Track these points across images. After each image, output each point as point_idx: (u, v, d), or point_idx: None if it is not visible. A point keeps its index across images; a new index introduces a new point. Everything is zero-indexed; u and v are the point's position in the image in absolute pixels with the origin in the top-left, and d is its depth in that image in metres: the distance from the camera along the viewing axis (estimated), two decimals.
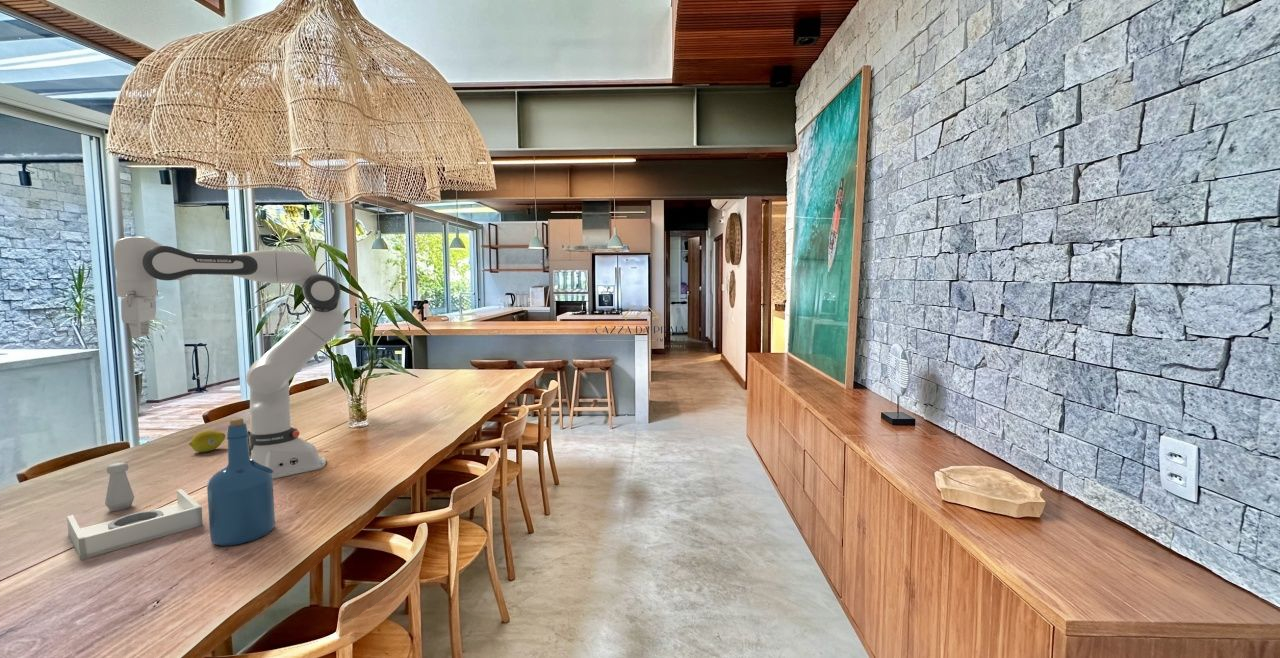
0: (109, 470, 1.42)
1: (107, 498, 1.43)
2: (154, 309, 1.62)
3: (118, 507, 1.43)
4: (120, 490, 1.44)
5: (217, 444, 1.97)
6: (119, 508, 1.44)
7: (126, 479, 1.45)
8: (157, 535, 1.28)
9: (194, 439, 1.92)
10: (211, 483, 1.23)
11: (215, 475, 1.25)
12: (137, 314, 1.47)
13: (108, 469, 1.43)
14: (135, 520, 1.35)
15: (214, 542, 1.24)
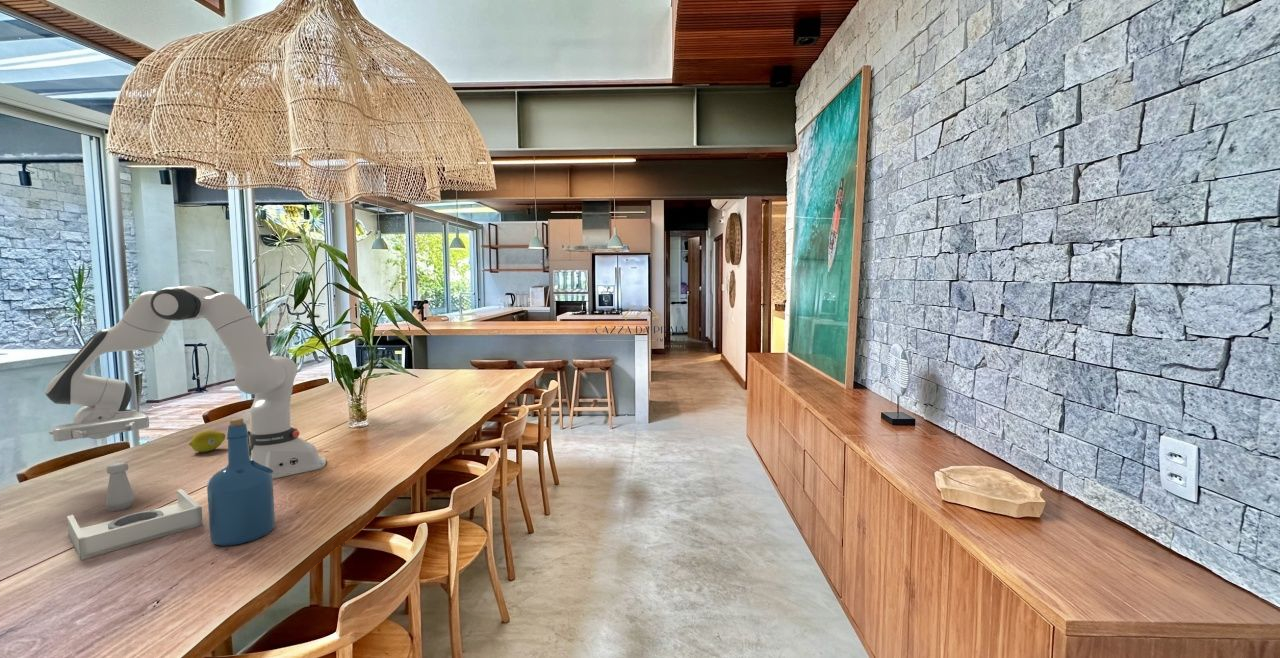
0: (109, 470, 1.42)
1: (107, 498, 1.43)
2: (140, 415, 1.62)
3: (118, 507, 1.43)
4: (120, 490, 1.44)
5: (217, 444, 1.97)
6: (119, 508, 1.44)
7: (126, 479, 1.45)
8: (157, 535, 1.28)
9: (194, 439, 1.92)
10: (211, 483, 1.23)
11: (215, 475, 1.25)
12: (53, 429, 1.47)
13: (108, 469, 1.43)
14: (135, 520, 1.35)
15: (214, 542, 1.24)
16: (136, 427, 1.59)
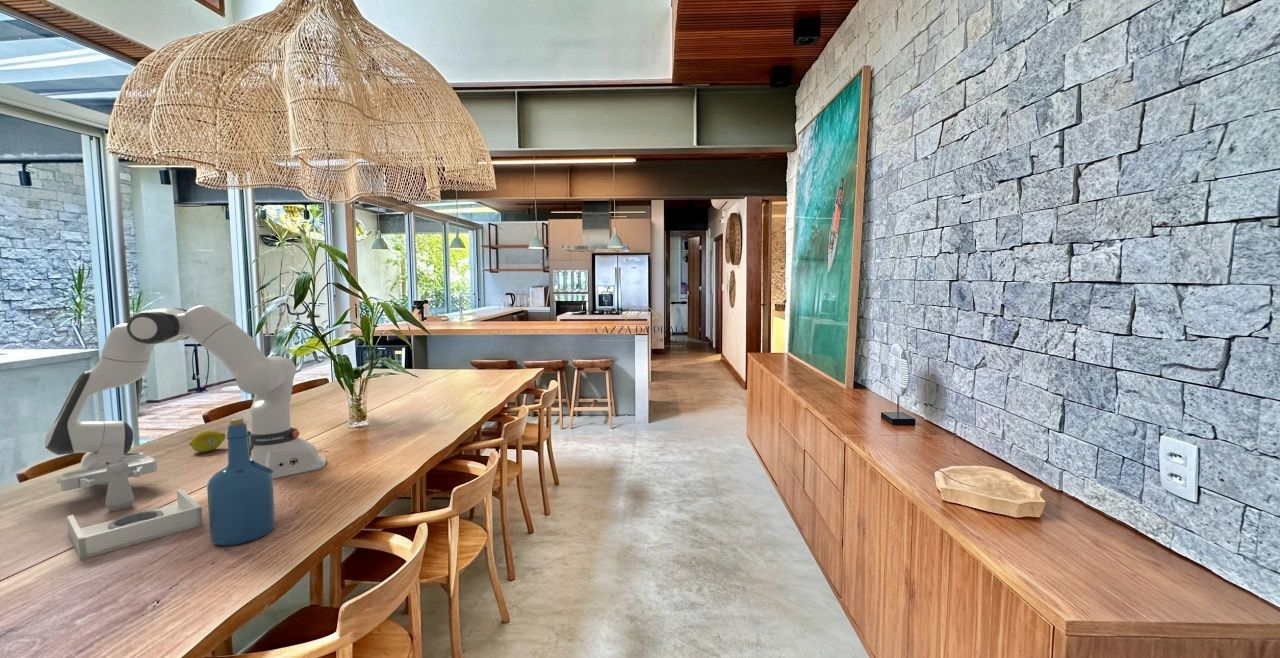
0: (109, 470, 1.42)
1: (107, 498, 1.43)
2: (148, 459, 1.61)
3: (118, 507, 1.43)
4: (120, 490, 1.44)
5: (217, 444, 1.97)
6: (119, 508, 1.44)
7: (126, 479, 1.45)
8: (157, 535, 1.28)
9: (194, 439, 1.92)
10: (211, 483, 1.23)
11: (215, 475, 1.25)
12: (60, 478, 1.45)
13: (108, 469, 1.43)
14: (135, 520, 1.35)
15: (214, 542, 1.24)
16: (144, 472, 1.58)
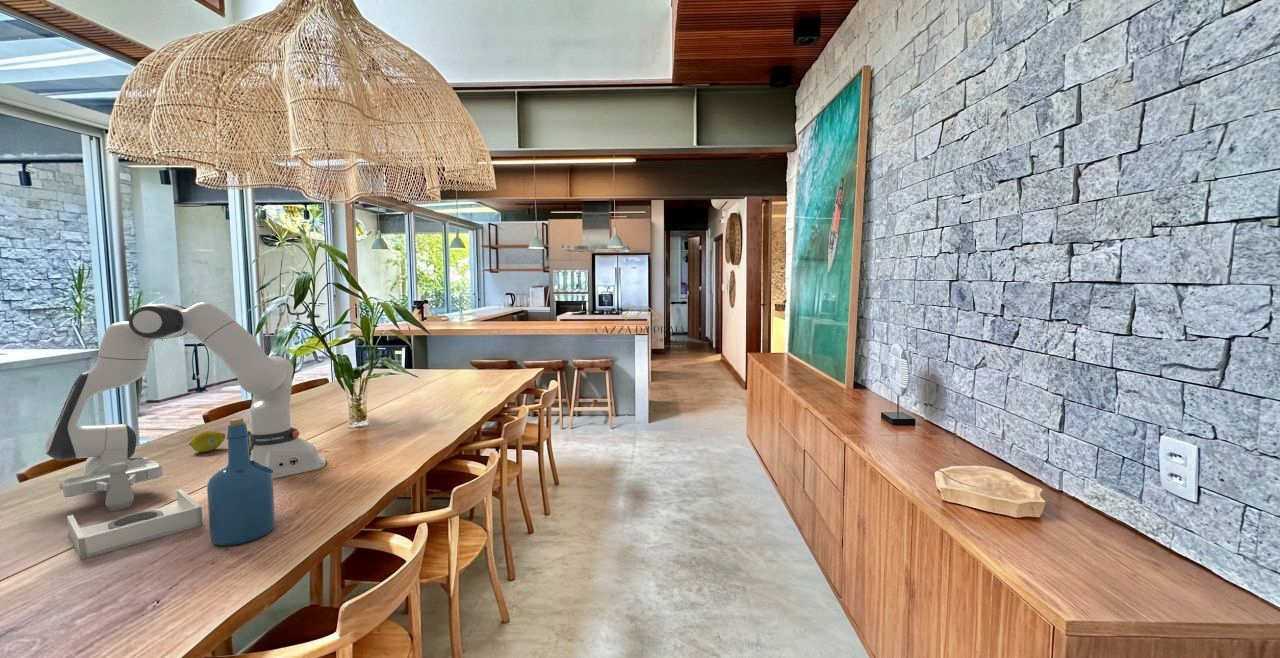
0: (109, 470, 1.42)
1: (107, 498, 1.43)
2: (153, 464, 1.56)
3: (118, 507, 1.43)
4: (120, 490, 1.44)
5: (217, 444, 1.97)
6: (119, 508, 1.44)
7: (126, 479, 1.45)
8: (157, 535, 1.28)
9: (194, 439, 1.92)
10: (211, 483, 1.23)
11: (215, 475, 1.25)
12: (63, 484, 1.41)
13: (108, 469, 1.43)
14: (135, 520, 1.35)
15: (214, 542, 1.24)
16: (149, 477, 1.53)
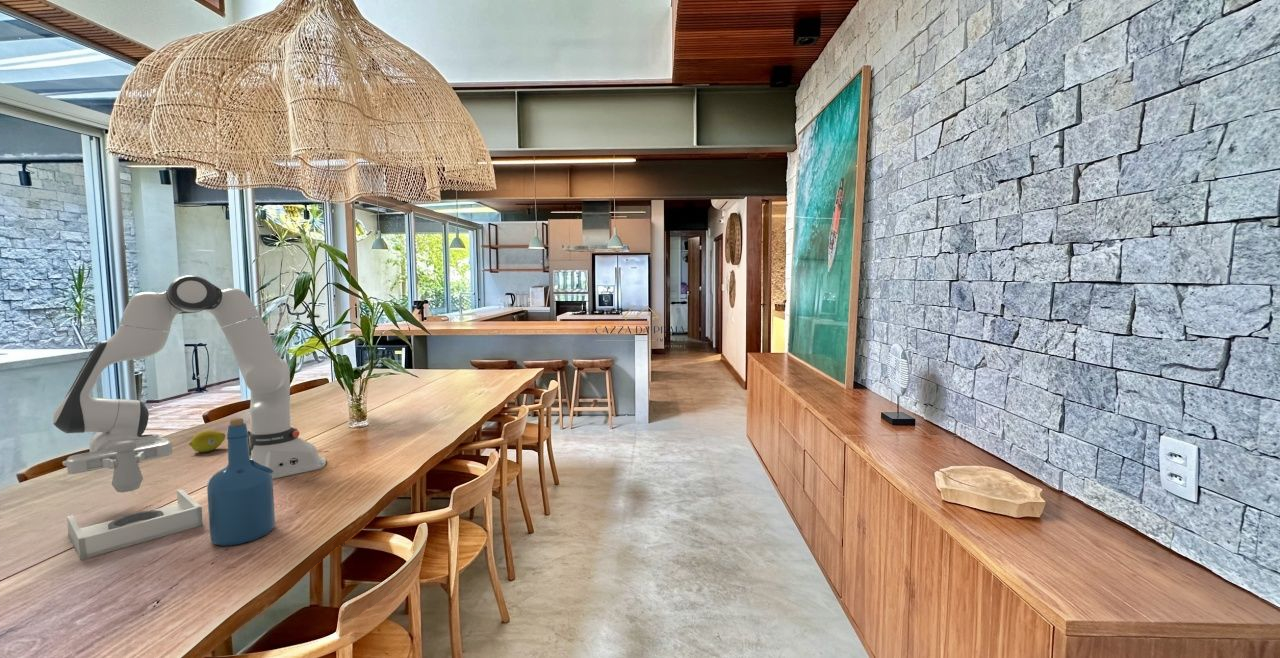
0: (116, 448, 1.33)
1: (114, 478, 1.33)
2: (162, 441, 1.46)
3: (126, 488, 1.34)
4: (127, 470, 1.34)
5: (217, 444, 1.97)
6: (127, 489, 1.34)
7: (134, 458, 1.36)
8: (157, 535, 1.28)
9: (194, 439, 1.92)
10: (211, 483, 1.23)
11: (215, 475, 1.25)
12: (67, 460, 1.31)
13: (115, 447, 1.33)
14: (135, 520, 1.35)
15: (214, 542, 1.24)
16: (158, 455, 1.43)
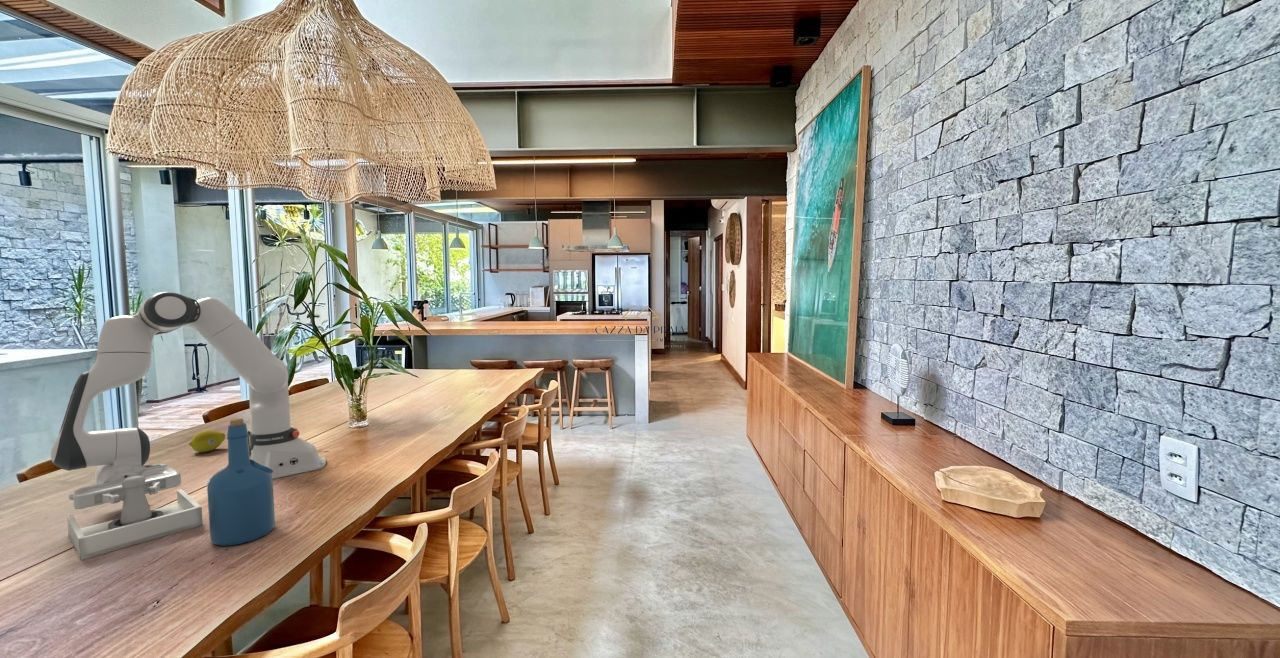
0: (125, 484, 1.29)
1: (122, 515, 1.30)
2: (171, 471, 1.42)
3: None
4: (136, 507, 1.31)
5: (217, 444, 1.97)
6: None
7: (143, 494, 1.32)
8: (157, 535, 1.28)
9: (194, 439, 1.92)
10: (211, 483, 1.23)
11: (215, 475, 1.25)
12: (74, 495, 1.27)
13: (124, 483, 1.29)
14: None
15: (214, 542, 1.24)
16: (167, 486, 1.40)
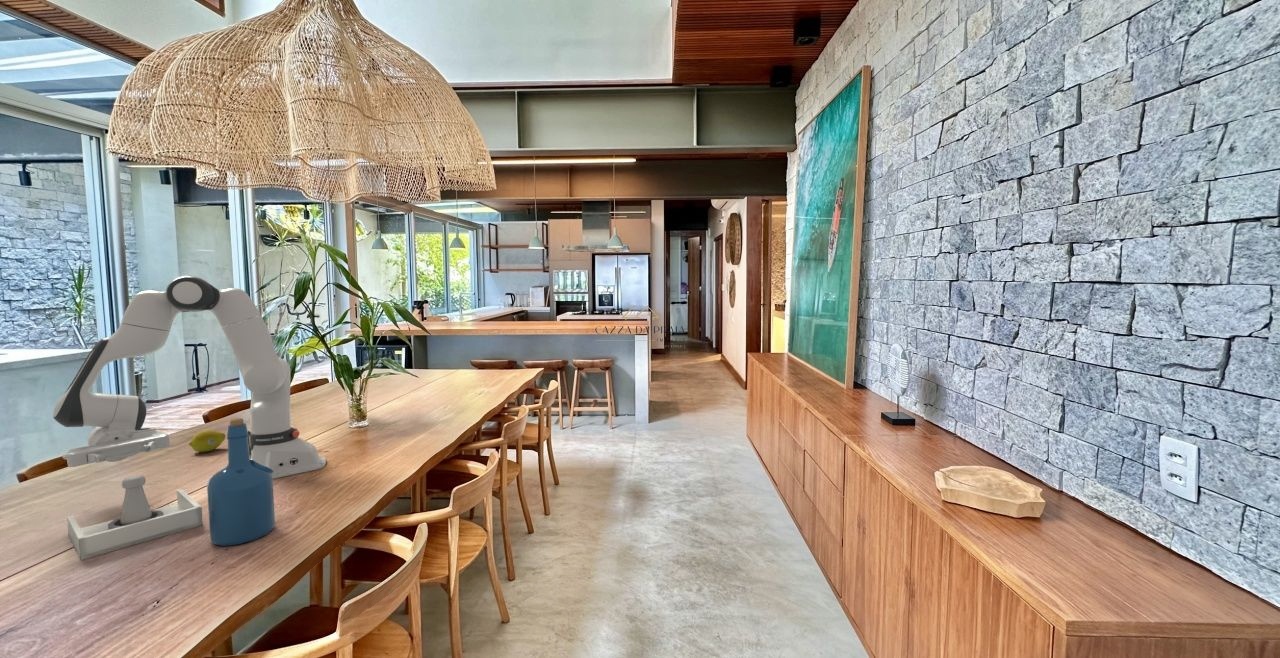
0: (125, 484, 1.29)
1: (122, 515, 1.30)
2: (159, 434, 1.50)
3: None
4: (136, 507, 1.31)
5: (217, 444, 1.97)
6: None
7: (143, 494, 1.32)
8: (157, 535, 1.28)
9: (194, 439, 1.92)
10: (211, 483, 1.23)
11: (215, 475, 1.25)
12: (67, 453, 1.35)
13: (124, 483, 1.29)
14: None
15: (214, 542, 1.24)
16: (156, 447, 1.47)
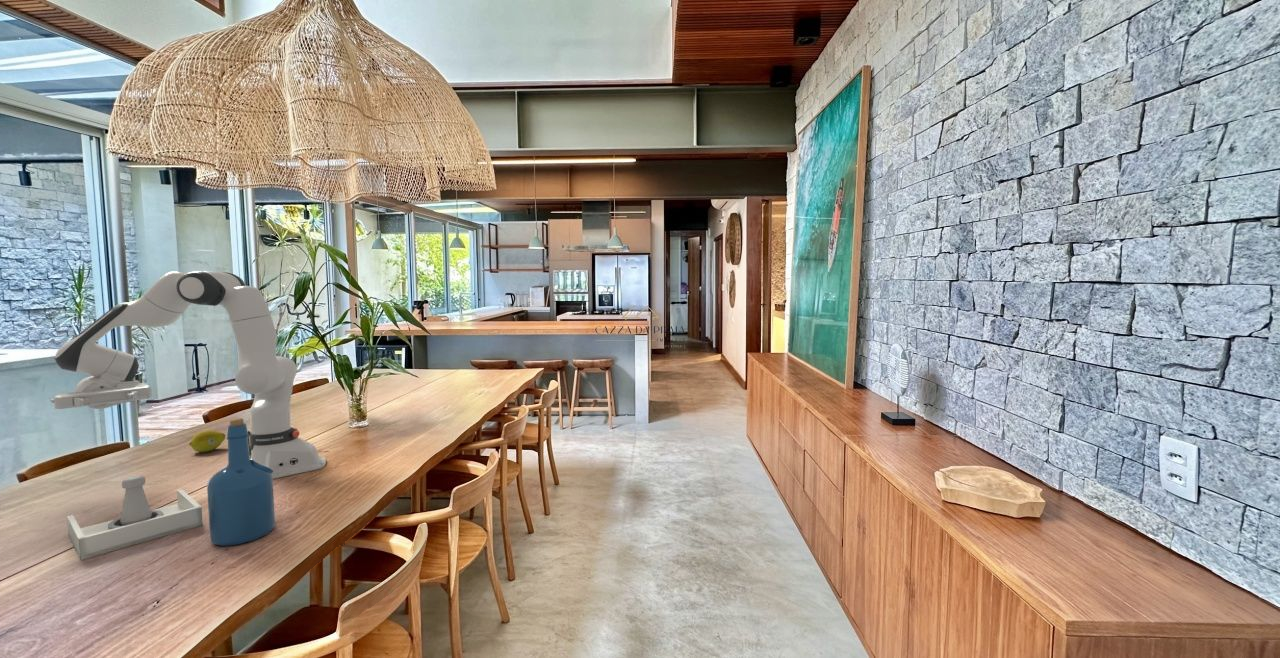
0: (125, 484, 1.29)
1: (122, 515, 1.30)
2: (142, 385, 1.61)
3: None
4: (136, 507, 1.31)
5: (217, 444, 1.97)
6: None
7: (143, 494, 1.32)
8: (157, 535, 1.28)
9: (194, 439, 1.92)
10: (211, 483, 1.23)
11: (215, 475, 1.25)
12: None
13: (124, 483, 1.29)
14: None
15: (214, 542, 1.24)
16: (138, 397, 1.58)
